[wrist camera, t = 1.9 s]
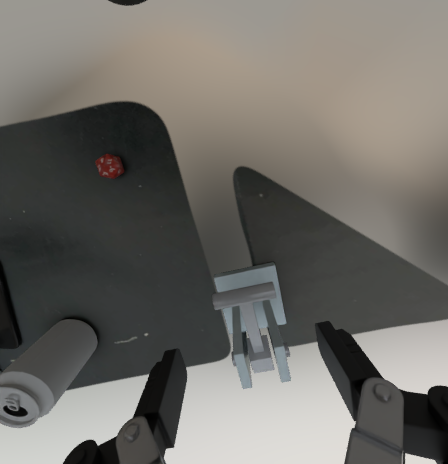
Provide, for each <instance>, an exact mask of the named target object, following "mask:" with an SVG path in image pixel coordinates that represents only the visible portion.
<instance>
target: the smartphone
mask: <svg viewBox="0 0 448 464" xmlns="http://www.w3.org/2000/svg"><path fill="white" fill-rule="evenodd" d="M19 345H20V339H19V335H18V331H17V328H16V324H15V321H14V317H13V313H12V310H11V306H10V303H9V299H8V295H7V292H6V288H5V285H4V281H3V278H2V274H1V270H0V348H3V349H15V348H17V347H19Z"/></svg>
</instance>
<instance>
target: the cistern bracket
mask: <svg viewBox="0 0 448 464" xmlns="http://www.w3.org/2000/svg"><path fill="white" fill-rule="evenodd" d="M214 281H215V284H216V288H217V291H218V292H223V291H228V290H233V289H238V288H243V287H248V286H252V285H257V284H262V283H267V282H273V284H274V288H275V292H276V298H274V299H269V300H264V301H259V302H254V303H253V305H254V309H255V313H256V317H257V321H258V325H259V329H260V328H265V327H268V331H269V335H270V339H271V343H272V346H273V350H274V355H275V358H276V363H277V366H278V370H279V375H280V379H281V382H287V381H291V377H290V372H289V367H288V363H287V358H286V357H290V352H289V348H288V345H287V342H283V341H282V338H281V335H280V331H279V328H278V325H281V324H286V319H285V313H284V308H283V303H282V298H281V293H280V288H279V283H278V277H277V272H276V267H275V264H274V262H271V263H266V264H261V265H257V266H252V267H247V268H243V269H238V270H233V271H229V272H224V273H220V274H215V275H214ZM223 313H224V317H225V320H226V324H227V327H228V331H229V334H233V352H232V361H233V365H234V366H237V370H238V373H239V377H240V380H241V384H242V388H243V389H245V388H252V380H251V371H250V362H249V353H248V346H247V335H246V331H247V329H246V326H245V322H244V319H243V316H242V313H241V310H240V307H239V306H234V307H229V308H224V309H223Z"/></svg>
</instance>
